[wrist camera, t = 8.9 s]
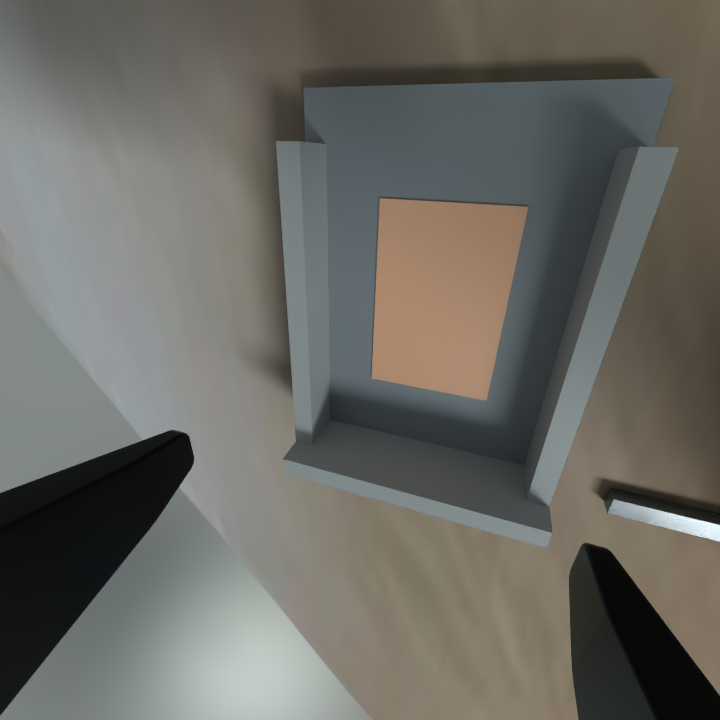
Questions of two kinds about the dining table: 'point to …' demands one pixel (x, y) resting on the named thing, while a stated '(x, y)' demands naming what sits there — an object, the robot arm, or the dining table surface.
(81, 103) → the dining table surface
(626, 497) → the frame
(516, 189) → the grey open tray
